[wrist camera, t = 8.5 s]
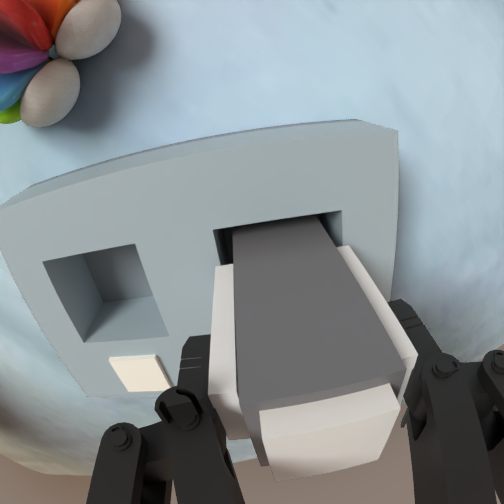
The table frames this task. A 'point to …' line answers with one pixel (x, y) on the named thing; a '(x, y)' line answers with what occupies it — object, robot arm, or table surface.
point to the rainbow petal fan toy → (37, 54)
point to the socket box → (184, 238)
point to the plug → (309, 352)
